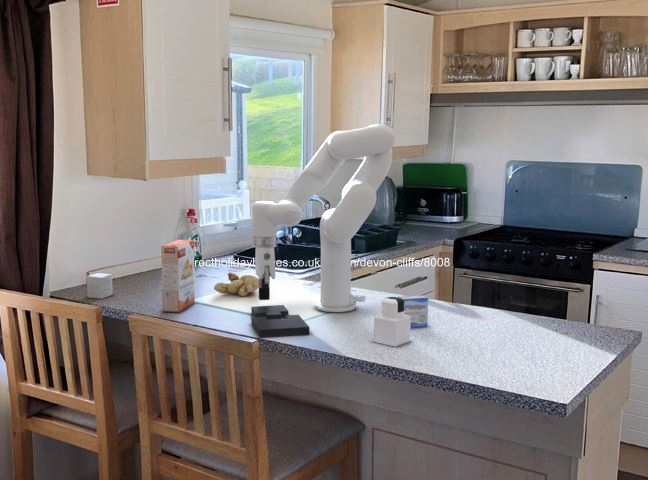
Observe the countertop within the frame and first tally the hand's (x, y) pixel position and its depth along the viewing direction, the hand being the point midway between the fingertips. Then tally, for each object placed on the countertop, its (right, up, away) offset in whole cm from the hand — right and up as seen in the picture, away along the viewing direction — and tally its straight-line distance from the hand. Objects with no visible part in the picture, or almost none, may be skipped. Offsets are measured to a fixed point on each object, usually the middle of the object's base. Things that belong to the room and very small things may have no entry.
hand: (264, 299), depth 238 cm
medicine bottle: (+37, -10, -34) cm, 51 cm away
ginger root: (-9, +1, +24) cm, 26 cm away
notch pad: (+6, -8, -22) cm, 24 cm away
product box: (-57, 0, +18) cm, 60 cm away
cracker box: (-27, -3, +3) cm, 27 cm away
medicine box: (+44, -7, -18) cm, 48 cm away
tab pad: (+3, -5, -8) cm, 10 cm away
